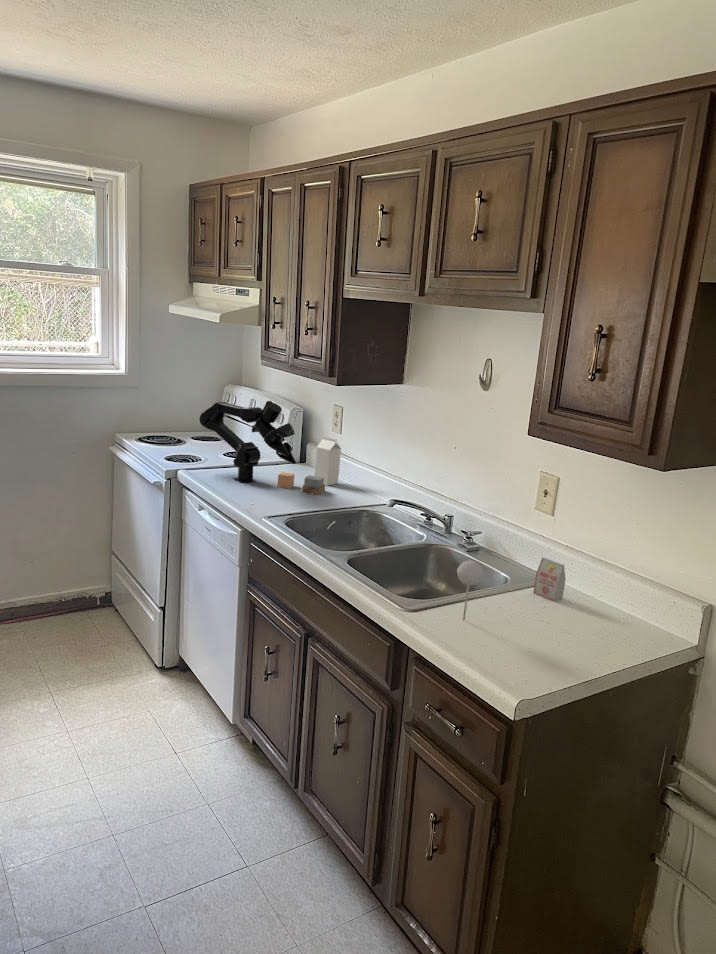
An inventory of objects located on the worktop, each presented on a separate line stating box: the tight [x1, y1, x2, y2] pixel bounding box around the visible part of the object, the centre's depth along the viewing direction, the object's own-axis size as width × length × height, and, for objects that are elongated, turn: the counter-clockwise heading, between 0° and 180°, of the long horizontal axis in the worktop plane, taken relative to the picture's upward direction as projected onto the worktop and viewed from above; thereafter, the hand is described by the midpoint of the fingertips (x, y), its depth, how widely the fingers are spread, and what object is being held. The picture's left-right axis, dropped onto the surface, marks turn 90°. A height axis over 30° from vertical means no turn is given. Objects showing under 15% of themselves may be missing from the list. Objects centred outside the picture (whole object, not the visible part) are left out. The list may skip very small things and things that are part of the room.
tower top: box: [303, 475, 324, 488], centre depth 279 cm, size 6×6×3 cm
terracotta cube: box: [277, 471, 295, 489], centre depth 284 cm, size 5×5×5 cm
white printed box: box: [533, 556, 566, 603], centre depth 192 cm, size 4×7×10 cm, turn 40°
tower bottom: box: [301, 484, 326, 496], centre depth 280 cm, size 7×7×3 cm
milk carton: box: [314, 436, 342, 487], centre depth 294 cm, size 7×7×19 cm
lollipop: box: [456, 560, 484, 621], centre depth 171 cm, size 6×6×15 cm
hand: (291, 459), depth 271 cm, fingers open, 9 cm apart
